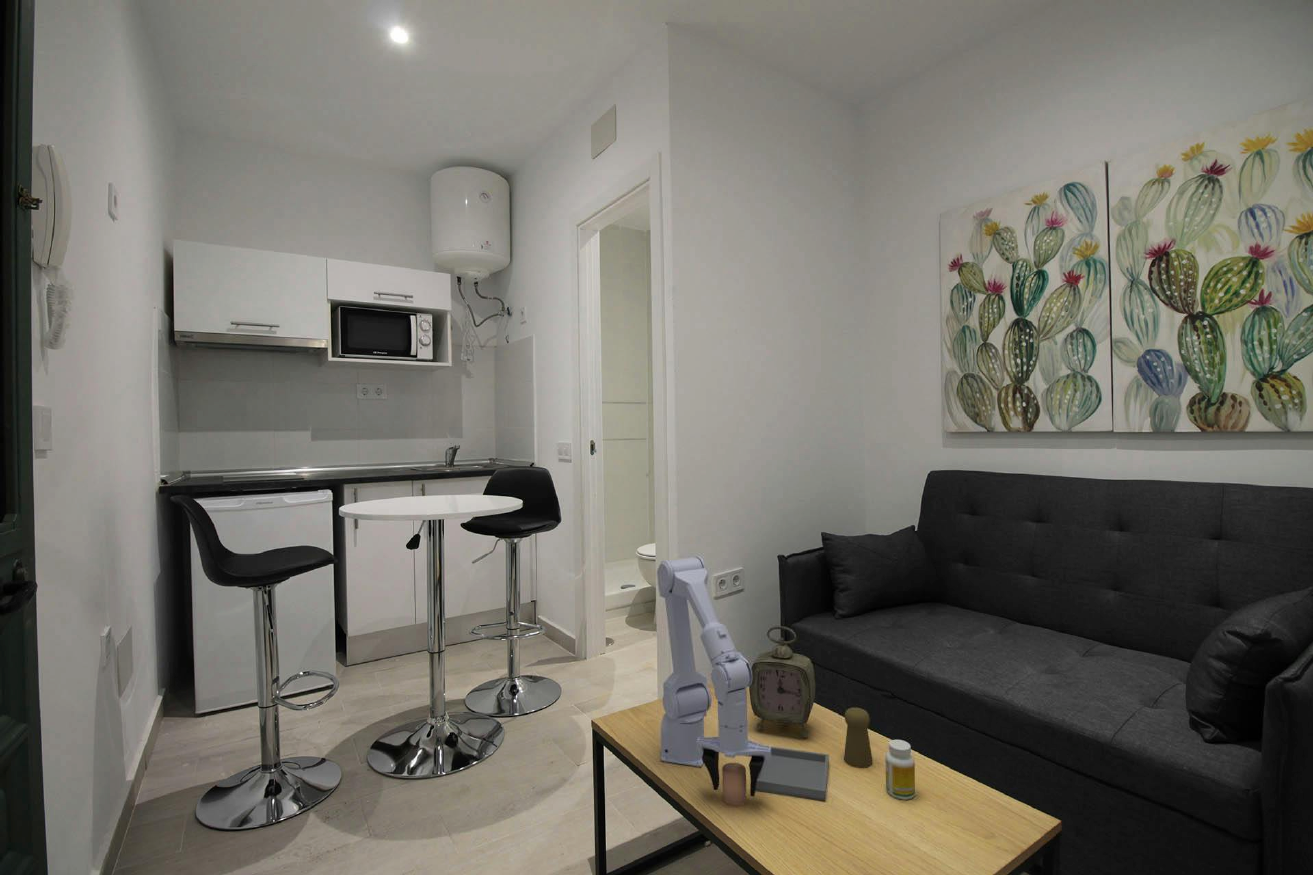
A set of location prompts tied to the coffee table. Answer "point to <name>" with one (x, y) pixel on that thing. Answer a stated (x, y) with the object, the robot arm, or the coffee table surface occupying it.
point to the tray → (795, 774)
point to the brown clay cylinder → (734, 784)
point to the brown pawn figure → (857, 739)
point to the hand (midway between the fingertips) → (734, 790)
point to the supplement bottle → (900, 770)
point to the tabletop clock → (782, 685)
